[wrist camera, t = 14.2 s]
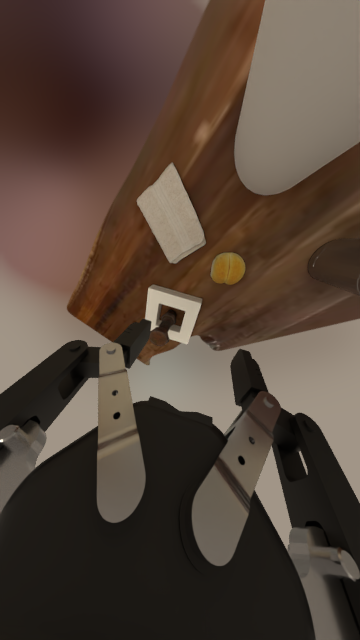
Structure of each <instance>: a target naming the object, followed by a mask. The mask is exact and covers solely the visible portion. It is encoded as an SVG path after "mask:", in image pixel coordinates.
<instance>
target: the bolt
mask: <svg viewBox="0 0 360 640" xmlns="http://www.w3.org/2000/svg"><path fill="white" fill-rule="evenodd" d="M175 316H176V314H175V312H173V311H172V310H169V311H168V312H167V313H165V314H164V315H163V316H162V317H161V320H162V322H161V323H160V325H159V327H156V328H155V329H153V330H152V331H150V336H149V338H150V341H151V342H152V343H153V344H155V345H157V346H163V345H165V344H166V343H168V342H169V336H168V331H169V329H170V327H171V326H172V325H174V324H175V322H176V319H175Z"/></svg>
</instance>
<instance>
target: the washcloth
mask: <svg viewBox="0 0 360 640" xmlns="http://www.w3.org/2000/svg"><path fill="white" fill-rule="evenodd" d="M137 203H138V206H139V207H140V209H141V211H142V213H143V215H144V217H145V218H146V220H147V222H148V224H149V225H150V227H151V229H152V231H153V233H154V235H155V236H156V239H157V241H158V242H159V244H160V246H161V248H162V249H163V251H164V253H165V256H166V257H167V259H168V261H169V262H170V263H177V262H178V261H179V260H181V259H182V258H184V257H186V256H187V255H189V254H191V253H192V252H194V251H195V250H197V249H199V248H200V247H202V246H204V245H205V244H206V241H205V238H204V232H203V230H202V227H201V225H200V222H199V220H198V217H197V215H196V212H195V210H194V208H193V205H192V203H191V201H190V199H189V197H188V194H187V192H186V190H185V188H184V186H183V184H182V181H181V179H180V177H179V174H178V172H177V170H176V168H175V166H174V164H173V162H172V163H171V164H169V166H168V167H167V168H166V169H165V170H164V172H163V173H162V175H161V176H160V178H159V179H158V180H157V181H156V182H155V183H154V184H153V185H152V186H149V187H148V188H147V190H145V191H144V192H143V193H142V194H141V196H139V198H138V199H137Z"/></svg>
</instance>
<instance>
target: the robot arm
mask: <svg viewBox="0 0 360 640" xmlns="http://www.w3.org/2000/svg"><path fill="white" fill-rule="evenodd" d="M308 272H309V274H310V275H311V276H312V277H313V278H314V279H317V280H319V281H322V282H325V283H327V284H330V285H332V286H335V287H338V288H341V289H343V290H346V291H349V292H351V293H354V294H357V295H359V296H360V239H338V240H334V241H331V242H328V243H326V244H324V245H323V246H322V247H320V248H319V249H318V250H317V251H316V252H315V253H314V254H313V255H312V257H311V259H310V261H309V264H308ZM151 323H152V322H151V321H149V320H146V319H142V320H141V321H140V322H139V323H137V322H135V323H133V324H131V325H130V326H129V327H128V328H127V329H126V330H125V331H124V332H123V333H122V334H121V335H120V336H119V337H118V338H117V339H116V340H115V341H114V342H113V343H108V344H105V345H103V346H102V347H88V345H87V343H86V342H85V341H81V340H75V341H71V342H68V343H66V344H65V345H64V346H62V347H61V348H60V349H58V350H57V351H56V352H54V353H53V354H52V355H51V356H49V357H48V358H47V359H45V360H44V361H43V362H41V363H40V364H39V365H38V366H36V367H35V368H34V369H32V370H31V371H30V372H29V373H27V374H26V375H25V376H23V377H22V378H21V379H19V380H18V381H17V382H15V383H14V384H13V385H12V386H10V387H9V388H8V389H7V390H5V391H4V392H3V393H1V394H0V640H360V503H359V501H358V499H357V497H356V495H355V493H354V491H353V490H352V488H351V486H350V484H349V482H348V480H347V478H346V476H345V475H344V473H343V471H342V469H341V467H340V465H339V463H338V461H337V459H336V457H335V456H334V454H333V452H332V450H331V448H330V446H329V444H328V442H327V441H326V439H325V437H324V435H323V433H322V431H321V429H320V428H319V426H318V425H317V424H316V423H315V422H314V421H313V420H312V419H311V418H310V417H308V416H307V415H305V414H303V413H297V414H295V415H292V414H291V413H289V412H287V411H286V410H284V409H283V408H281V406H280V404H279V402H278V401H277V400H276V398H275V397H274V396H273V395H271V394H270V393H269V392H268V390H267V387H266V385H265V382H264V379H263V377H262V373H261V371H260V368H259V365H258V364H257V362H256V361H255V360H254V359H252V357H251V354H250V352H249V351H245V350H242V349H239V350H238V352H237V354H236V355H235V357H234V358H233V360H232V362H231V374H232V382H233V389H234V396H235V402H236V405H238V406H241V407H242V411H241V412H240V413H239V415H238V416H237V417H236V419H235V420H234V421H233V423H232V424H231V426H230V427H229V429H228V430H227V431H226V432H225V434H223V433H222V432H221V431H220V430H219V429H218V428H217V427H216V426H215V425H214V424H212V417H209V416H206V415H203V414H201V413H198V412H182V411H179V410H177V409H176V408H174V407H173V406H171V405H170V404H168V403H167V402H165V401H163V400H160V399H157V398H154V397H151V396H150V398H149V401H140V402H136V403H132V398H131V392H130V386H129V380H128V374H127V370H126V369H125V367H126V368H130V367H131V366H132V364H133V363H134V361H135V360H136V358H137V357H138V355H139V353H140V352H141V350H142V349H143V347H144V346H145V344H146V343H147V341H148V339H149V336H150V331H151ZM88 378H98V381H99V382H98V384H99V385H98V426H97V427H95V428H94V429H92V430H91V431H89V432H88V433H86V434H85V435H83V436H82V437H80V438H79V439H77V440H76V441H74V442H73V443H71V444H70V445H68V446H67V447H65V448H63V449H62V450H60V451H59V452H57V453H56V454H54V455H53V456H51V457H50V458H48V459H47V460H45V461H44V462H42V463H41V464H40V465H39V466H37V467H36V468H35V464H36V460H37V458H38V455H39V454H40V452H41V451H42V449H43V447H44V445H45V443H46V434H45V431H46V430H47V429H48V427H49V426H50V425H51V424H52V423H53V421H54V420H55V419H56V418H57V416H58V415H59V414H60V412H62V410H63V409H64V408H65V407H66V405H67V404H68V403H69V402H70V400H71V399H72V398H73V397H74V396H75V394H76V393H77V392H78V391H79V389H80V388H81V387H82V386H83V384H84V383H85V382H86V381H87V380H88ZM271 445H272V448H273V452H274V456H275V460H276V464H277V468H278V473H279V476H280V480H281V484H282V489H283V493H284V497H285V501H286V505H287V509H288V513H289V518H290V522H291V525H292V530H291V531H290V535H289V543H290V544H289V545H288V551H287V549H286V548H285V546H284V544H283V542H282V540H281V538H280V536H279V535H278V533H277V531H276V529H275V527H274V526H273V524H272V522H271V520H270V518H269V516H268V514H267V512H266V511H265V509H264V507H263V505H262V503H261V501H260V500H259V498H258V496H257V494H256V492H255V490H254V489H255V486H256V484H257V481H258V479H259V476H260V473H261V471H262V468H263V466H264V463H265V461H266V458H267V456H268V453H269V451H270V448H271ZM299 451H301V453H302V455H303V458H304V460H305V463H306V466H307V469H308V475H307V474H306V471H305V469H304V466H303V463H302V461H301V458H300V455H299Z"/></svg>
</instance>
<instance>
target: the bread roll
mask: <svg viewBox="0 0 360 640" xmlns="http://www.w3.org/2000/svg"><path fill="white" fill-rule="evenodd" d="M244 273H245V263H244V261H243V259H242V258H241V257H240V256H239V255H238V254H236V253H222V254H219V255H217V256H216V258H215V259H214V260H213V263H212V268H211V275H210V276H211V277H212V279H213V281H215V282H216V283H226V284H229V285H232V284H235V283H237V282H238V281H239V280H240V279H241V278H242V277H243V275H244Z"/></svg>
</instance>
